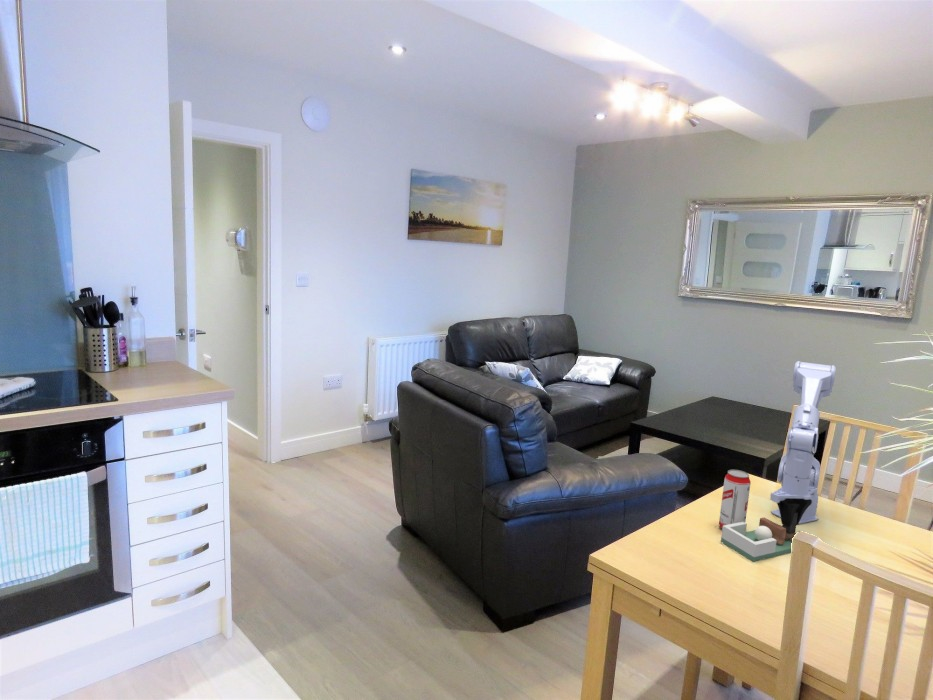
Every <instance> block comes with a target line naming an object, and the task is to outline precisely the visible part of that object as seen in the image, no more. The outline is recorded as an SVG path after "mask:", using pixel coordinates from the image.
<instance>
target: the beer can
mask: <svg viewBox="0 0 933 700" xmlns="http://www.w3.org/2000/svg"><path fill="white" fill-rule="evenodd" d="M723 481H724V482H723V486H722V487H723V489H722V496H721V504H720V511H719V519H718V525H719V527H720V529H721V528H723V526H724V525H729V524H734V523H739V522H745V523H746V522H747V513H748V505H749V498H750V497H749V496H750V490H751V489H750V488H751V482H752V481H751V479H750V474H749V473H748V472H746V471H745V470H744V471H743V470H739V469H729V470H727V474H725V477H724V480H723Z"/></svg>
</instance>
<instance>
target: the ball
mask: <svg viewBox="0 0 933 700" xmlns="http://www.w3.org/2000/svg"><path fill="white" fill-rule="evenodd" d="M754 530H755V537H756V538H757V539H758V540H759V541H760V540H765V539H769V538H772V532H771V530H770V529H769V528H768V527H766V526H759V525H758V526H757V527H756V528H755V529H754Z"/></svg>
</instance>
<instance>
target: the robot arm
mask: <svg viewBox="0 0 933 700" xmlns="http://www.w3.org/2000/svg"><path fill="white" fill-rule="evenodd" d="M836 372H837V367H836V366H835V365H833V364H832V365H827V364H820V363H813V362H806V361H805V362H803V361H800V360H798V361H796V362H795V363H794V368H793V374H792V388H793V391H795V392H796V393H798V394H799V396H800V405H798V406H797V407H795V408H794V412H793V417H792V422H791V428H788V432H787V437H786V453H785V454H783V455H782V456H781V459H780V462H779V466H778V472H777V481H778V483H780V484H781V485H780V487H779V488H778V489H777V490H775V491H773V492H771V493H770V499H769V501H772V502H773V503H776V504H777V507H778V509H774V510H773V509H772V510H771V511H770V513H771V514H773V515H775V516H777V517H779V518H780V520H781V521H780V522H781V525H783V524H784V525H786V526H788V527H790V526H791V524H792V521H793V516H794V514H795V511H796V512H798V518H797V524H796V526H797V525H801V524H806V523H810V522H814V521H818V520H819V518H818V517H817V510H818V502H819V494H818V487H819V480H820V474H821V470H820V469H821V464H820V461H819V460H818V459H816V457H814V455H815V453H816V452H817V448H818V443H819V441H818V440H819V422H820V416H821V412H820V410H819V409H818V408H819V406H820V405H819V404H820V403H821V401H822V399H823V398H825V397H829V396H831V394H832V392H833V388H834V386H835V385H834V384H835V378H836ZM813 449H814V451H813Z"/></svg>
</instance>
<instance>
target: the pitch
mask: <svg viewBox="0 0 933 700" xmlns="http://www.w3.org/2000/svg"><path fill="white" fill-rule="evenodd" d="M747 525H748V523H746V522H739V523H734V524H729V525H724V526H723V528H722V529H721V537H720V542H721V543H722V542H723V543H722V544H724V545H725V544H726V545H725V546H727V547H729V548H730V549H732V550H734V551H735V552H737V553H738V554H740V555H742V556H743V557H745V558H746V559H748V560H750V561H751V562H757V561H758V562H759V561H763V560H766V559H771V558H774V557H778V556H784V555H788V554H791V543H792V539H788V540H785V541H784V544H780V545H779V544H778V543H776V542H777V540H776V539H774V538H769V539H765V540H760V541H759V540H758V539H757V538H756V537H755V529H753V530H750V531H747V527H748V526H747ZM779 525H780V526H782V524H779ZM795 534H796V532H795Z"/></svg>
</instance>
